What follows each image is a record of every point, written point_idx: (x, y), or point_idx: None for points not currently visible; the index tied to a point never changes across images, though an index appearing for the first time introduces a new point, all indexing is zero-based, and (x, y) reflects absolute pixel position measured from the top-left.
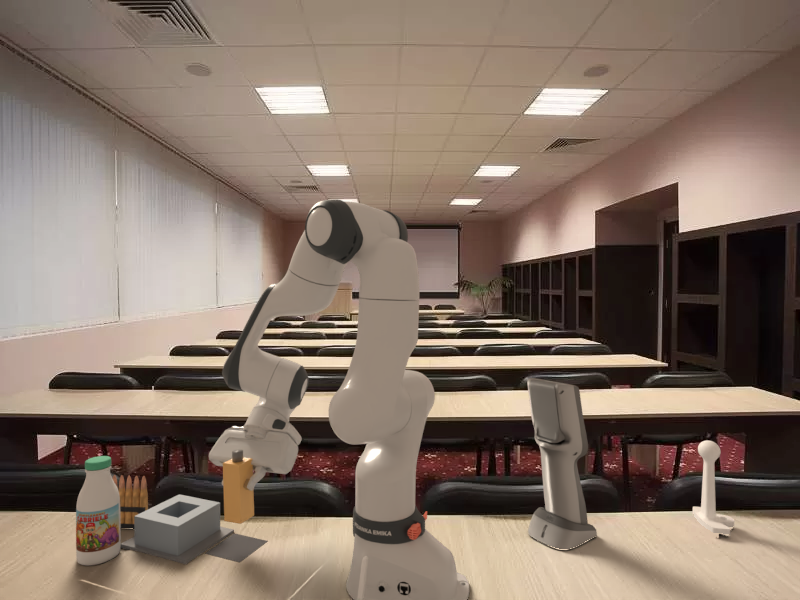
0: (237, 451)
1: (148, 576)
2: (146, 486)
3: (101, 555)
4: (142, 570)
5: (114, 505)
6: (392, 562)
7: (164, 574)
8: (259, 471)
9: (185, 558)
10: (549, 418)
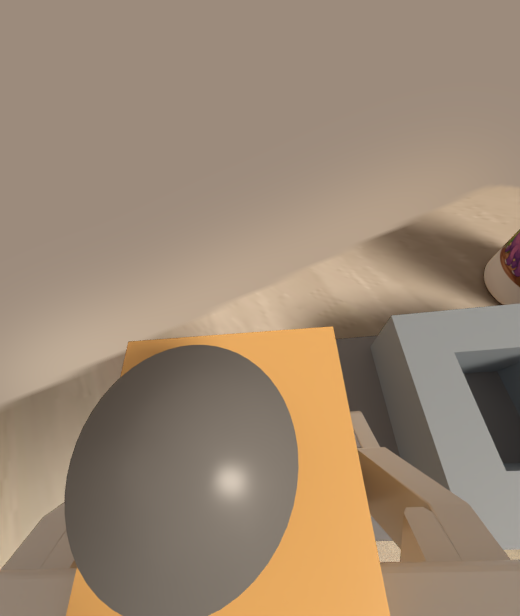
0: (172, 439)
1: (359, 290)
2: None
3: (492, 261)
4: (390, 296)
5: None
6: None
7: (340, 306)
8: (42, 519)
9: (345, 347)
10: None
